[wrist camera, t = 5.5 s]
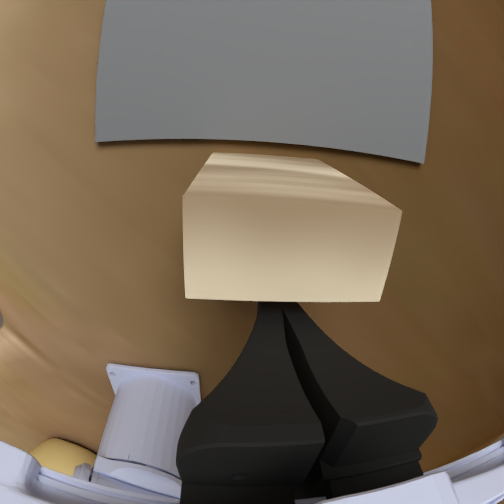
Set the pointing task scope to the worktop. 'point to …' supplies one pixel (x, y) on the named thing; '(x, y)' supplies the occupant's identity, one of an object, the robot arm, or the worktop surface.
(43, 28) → the worktop surface
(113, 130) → the mat
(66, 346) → the worktop surface
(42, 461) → the beige lumpy ball
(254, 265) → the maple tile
